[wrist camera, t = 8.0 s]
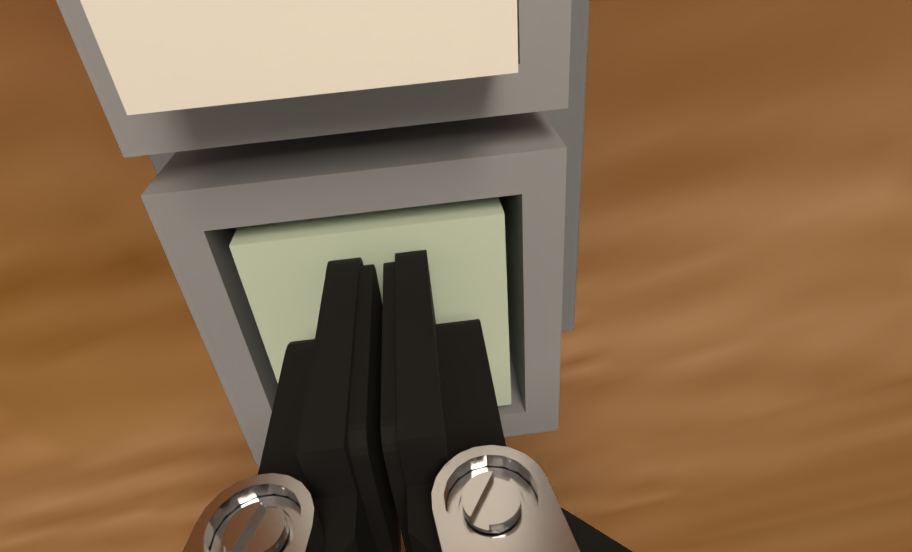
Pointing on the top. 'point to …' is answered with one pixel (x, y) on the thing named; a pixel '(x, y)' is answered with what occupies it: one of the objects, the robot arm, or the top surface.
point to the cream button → (294, 47)
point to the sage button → (381, 270)
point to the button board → (375, 190)
